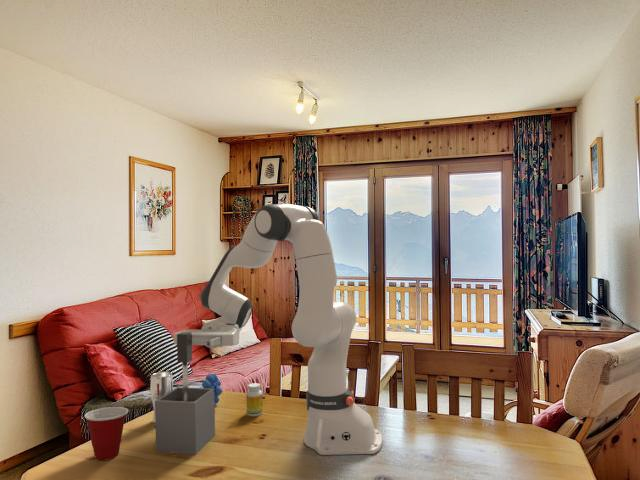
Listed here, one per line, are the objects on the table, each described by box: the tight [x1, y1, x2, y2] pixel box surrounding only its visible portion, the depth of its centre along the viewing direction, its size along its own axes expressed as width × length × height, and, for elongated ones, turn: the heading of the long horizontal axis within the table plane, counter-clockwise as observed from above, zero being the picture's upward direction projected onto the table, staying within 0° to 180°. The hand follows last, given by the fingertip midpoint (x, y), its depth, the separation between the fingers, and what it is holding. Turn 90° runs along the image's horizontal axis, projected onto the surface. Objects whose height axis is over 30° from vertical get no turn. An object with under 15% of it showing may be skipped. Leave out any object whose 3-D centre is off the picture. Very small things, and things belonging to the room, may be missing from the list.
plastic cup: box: [84, 406, 130, 461], centre depth 120 cm, size 11×11×12 cm
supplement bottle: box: [245, 382, 264, 417], centre depth 147 cm, size 5×5×10 cm
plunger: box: [176, 332, 194, 402], centre depth 126 cm, size 9×9×22 cm
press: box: [154, 386, 216, 455], centre depth 126 cm, size 12×12×14 cm
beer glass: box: [150, 371, 174, 425], centre depth 143 cm, size 7×7×15 cm
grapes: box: [201, 373, 223, 407], centre depth 153 cm, size 12×7×12 cm, turn 165°
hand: (194, 343), depth 132 cm, fingers open, 8 cm apart
